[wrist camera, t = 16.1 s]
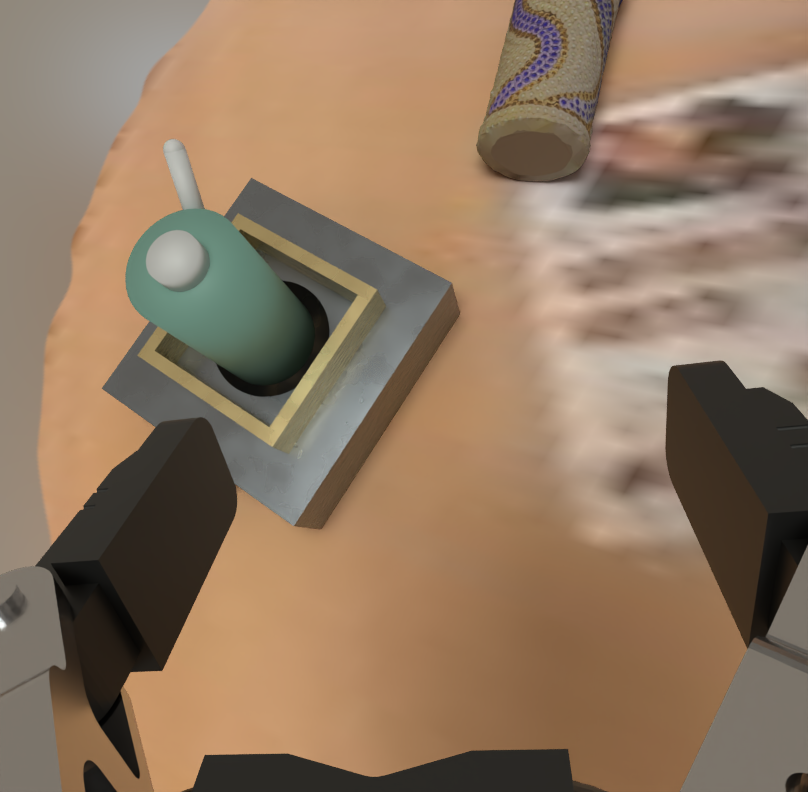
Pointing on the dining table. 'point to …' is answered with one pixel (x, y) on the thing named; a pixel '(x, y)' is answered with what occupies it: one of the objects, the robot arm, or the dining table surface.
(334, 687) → the dining table surface
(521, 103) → the decorative bottle
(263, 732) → the dining table surface
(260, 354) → the oil can
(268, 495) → the grey metal block
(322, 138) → the dining table surface
